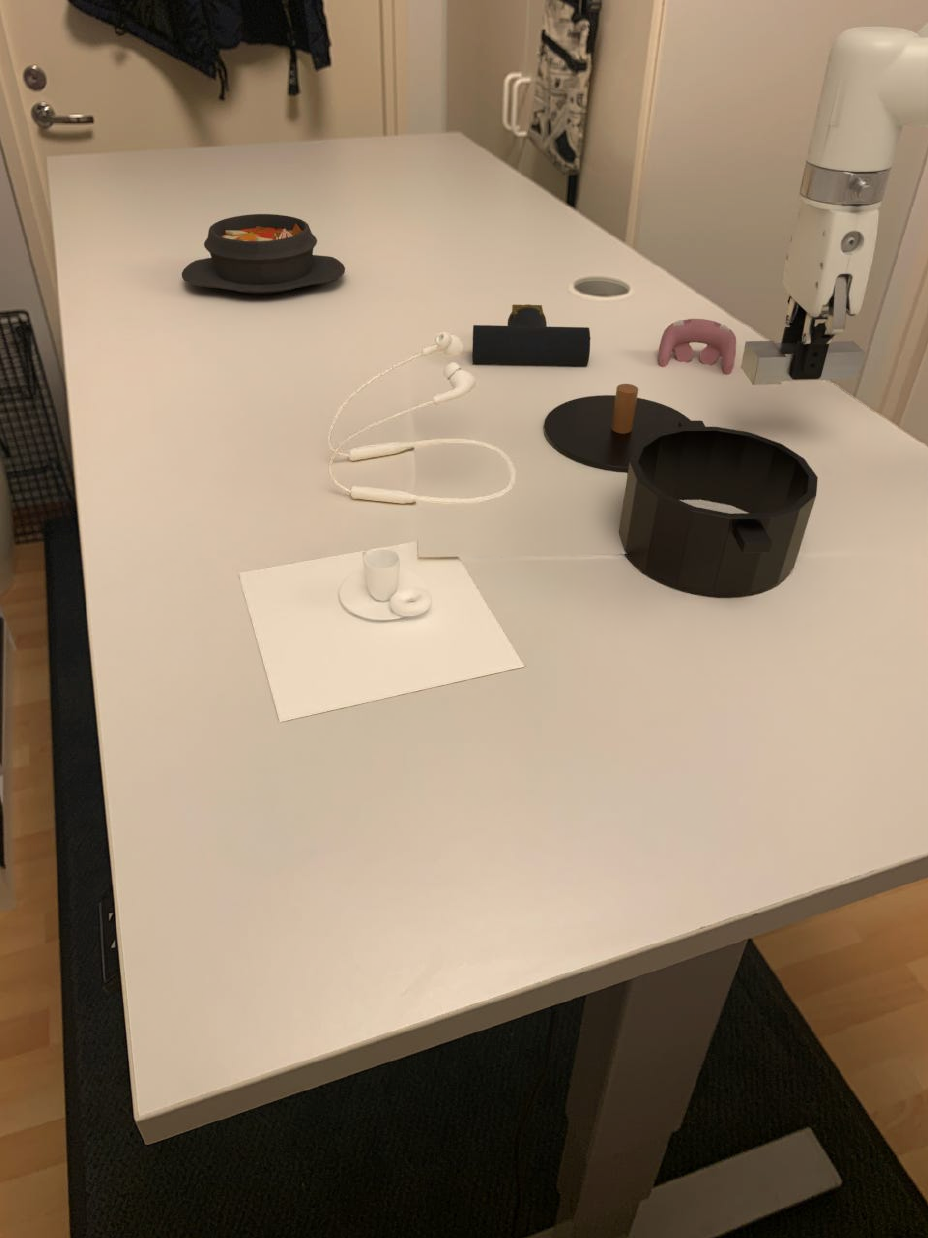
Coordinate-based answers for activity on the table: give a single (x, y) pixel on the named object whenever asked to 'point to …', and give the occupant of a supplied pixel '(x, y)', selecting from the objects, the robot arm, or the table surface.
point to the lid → (607, 427)
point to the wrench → (775, 361)
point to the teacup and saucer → (370, 628)
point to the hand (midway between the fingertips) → (798, 369)
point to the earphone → (461, 386)
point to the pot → (711, 540)
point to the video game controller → (698, 331)
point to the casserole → (261, 256)
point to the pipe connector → (530, 341)
